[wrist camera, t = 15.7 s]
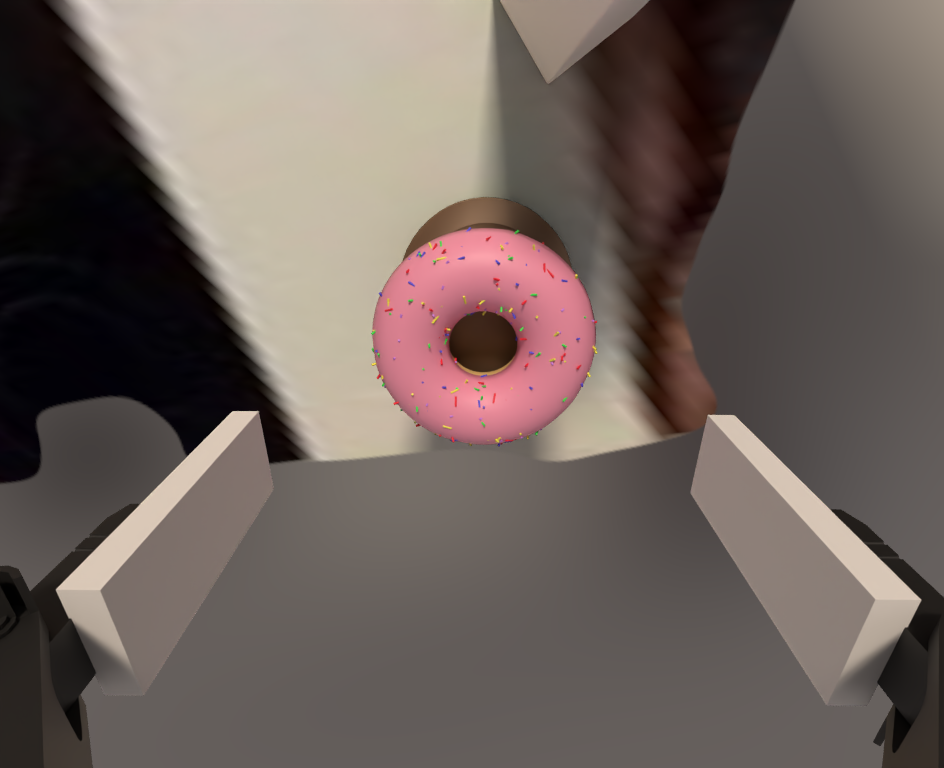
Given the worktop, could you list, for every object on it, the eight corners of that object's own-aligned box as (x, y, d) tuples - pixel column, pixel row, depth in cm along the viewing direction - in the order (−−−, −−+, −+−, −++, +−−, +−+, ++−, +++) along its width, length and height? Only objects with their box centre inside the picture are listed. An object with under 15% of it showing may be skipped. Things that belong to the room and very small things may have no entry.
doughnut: (632, 308, 25) (658, 334, 22) (503, 455, 29) (505, 499, 25) (458, 173, 23) (453, 175, 19) (342, 352, 27) (318, 383, 23)
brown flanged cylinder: (370, 306, 36) (332, 354, 27) (464, 158, 32) (456, 154, 23) (503, 393, 39) (509, 464, 29) (605, 266, 34) (649, 303, 25)
